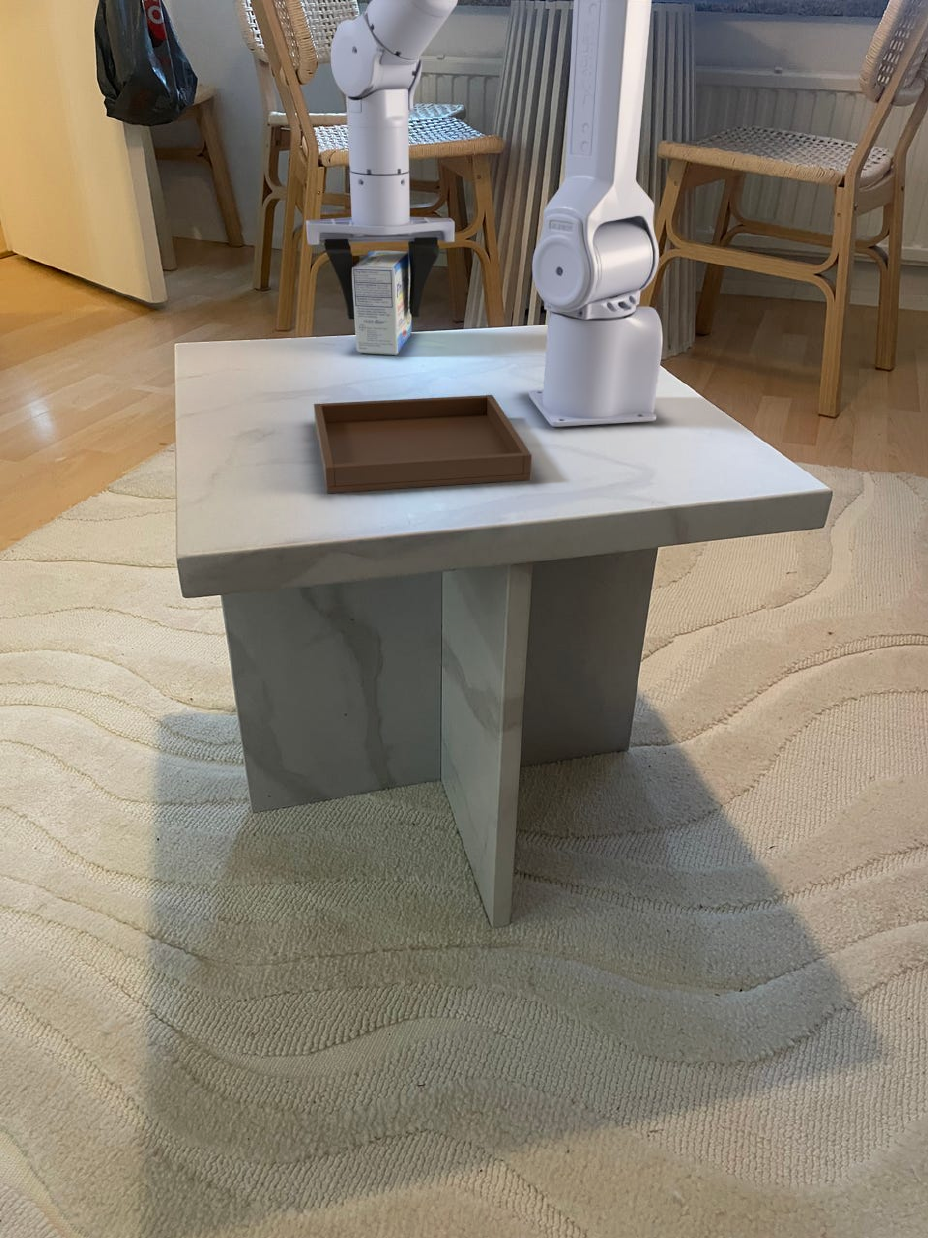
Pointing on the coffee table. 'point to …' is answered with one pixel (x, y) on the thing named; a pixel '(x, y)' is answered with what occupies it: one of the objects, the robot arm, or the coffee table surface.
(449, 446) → the tray
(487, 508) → the coffee table surface
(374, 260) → the medicine box
